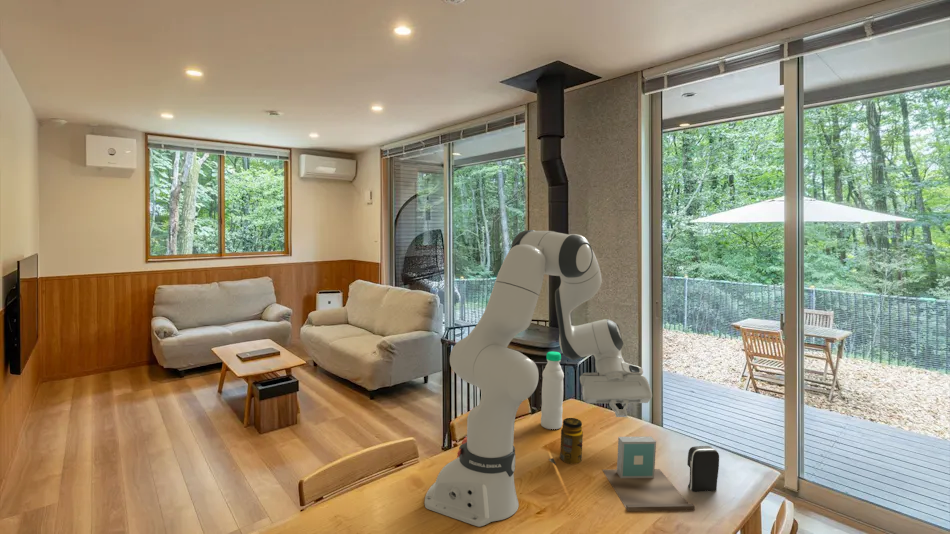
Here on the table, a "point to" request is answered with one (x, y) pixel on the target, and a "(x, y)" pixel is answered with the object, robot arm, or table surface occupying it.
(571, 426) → the condiment
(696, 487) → the battery charger
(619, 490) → the board
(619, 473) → the grey rectangular block
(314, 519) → the table surface
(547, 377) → the water bottle
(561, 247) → the robot arm
